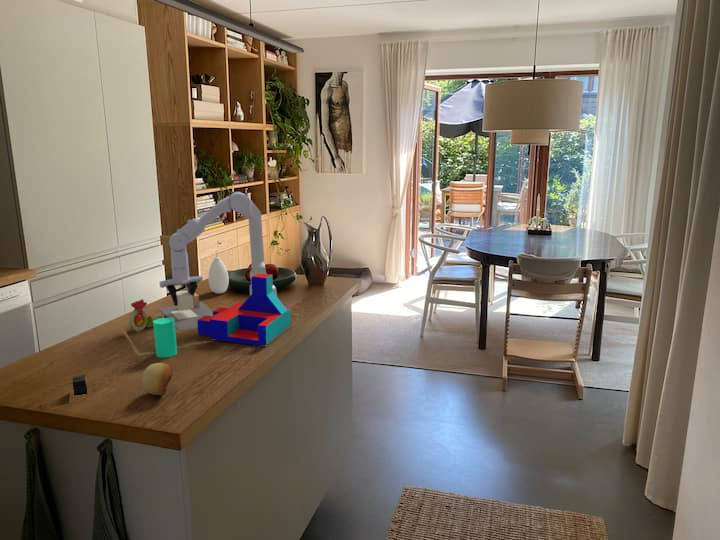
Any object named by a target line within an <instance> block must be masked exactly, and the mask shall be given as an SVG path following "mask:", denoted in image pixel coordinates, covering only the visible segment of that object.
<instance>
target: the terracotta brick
mask: <svg viewBox="0 0 720 540" xmlns="http://www.w3.org/2000/svg"><path fill="white" fill-rule="evenodd" d="M199 302H200V295H199V294H197V293H196V292H195V293H194V297H193V305H194V307H200V303H199Z"/></svg>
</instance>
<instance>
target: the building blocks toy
mask: <svg viewBox="0 0 720 540" xmlns="http://www.w3.org/2000/svg"><path fill="white" fill-rule="evenodd" d="M273 278H274V277H273V274H270V273H269V274H268V273H267V274H261V273H257V274H255V275H254V276H252V294H251V295H250V294H249V297H248V298H247V299H245V301H244V302H237V303H236V304H234V305H231V306H230V307H223V306H222V307H221V306H220V307H218V308H216V309H213V316H206V315H205V316H203V317H202V318H200V319H198V320H197V323H198V328H197V335H201V336H205V337H207V336H208V337H210V340H215V341H222V342H229V343H236V344H243V345H251V344H252V345H251V346H258V345H267V344H268V343H269V342H270V341H271V340H273V339H274V338H275V337H276V336H277V335H279V334H280V333H281V332H282V331H283V330H285V329H286V328H287V327H288V326H290V327H291V308H290V307H286V306H285V305H284V304H283V303H282V301H281V300H280V298H279V297H278V295H277V296H276V295H275V294H274V292H273V285H274V282H273V280H274V279H273Z"/></svg>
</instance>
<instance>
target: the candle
mask: <svg viewBox="0 0 720 540" xmlns="http://www.w3.org/2000/svg"><path fill="white" fill-rule="evenodd" d="M164 316H165V315H162V317H158V318H156V319H155V320H154V319H153V320H154V321H153V326H152V327H153V335H154V345H155V354H156V357H157V358H171V357H174V356H176V355H177V354H178V346H177V345H178V343H177V334H176V326H175V321H174V318H172V317H169V318H167V317H164Z"/></svg>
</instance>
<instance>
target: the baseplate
mask: <svg viewBox="0 0 720 540" xmlns="http://www.w3.org/2000/svg"><path fill="white" fill-rule="evenodd" d="M199 303H200V307H194V308H192V309H186V310H179V309H178V308H177V307H176V306H175V305H172V306H165V307H160V308H159V310H160V311H161V312H162V314H164V316H166V318H169V317H172V318H174V321H175V328H177V330H179V332H183V331H187V330H191V329H193V330H194V329H198V323H197V320H198V319H200V318H202V317H203V316H205V315H206V316H213V311H214V309H212V308H210V307H209V306H208V305H207V304H206V303H204V302H203V301H199Z"/></svg>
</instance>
